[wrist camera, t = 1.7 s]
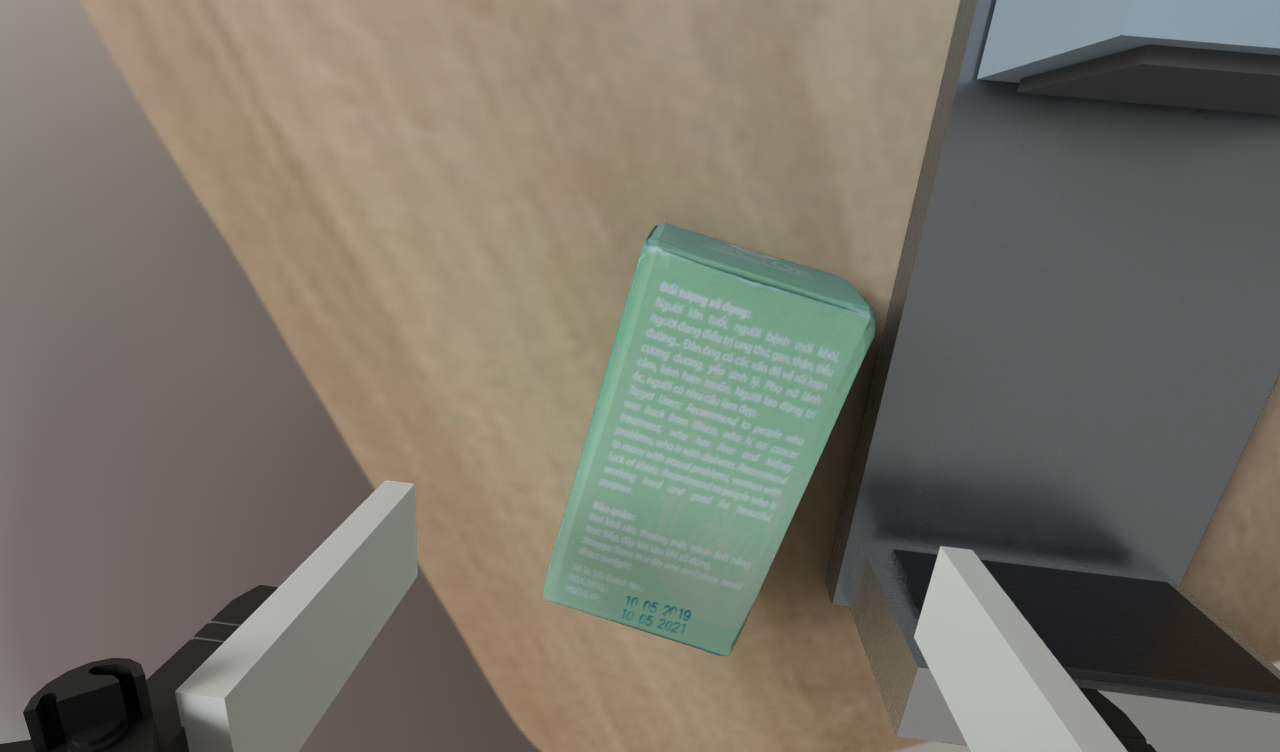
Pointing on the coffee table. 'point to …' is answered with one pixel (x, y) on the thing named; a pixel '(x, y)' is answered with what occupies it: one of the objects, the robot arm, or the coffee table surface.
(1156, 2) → the block
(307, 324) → the coffee table surface
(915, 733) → the vise
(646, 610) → the box
